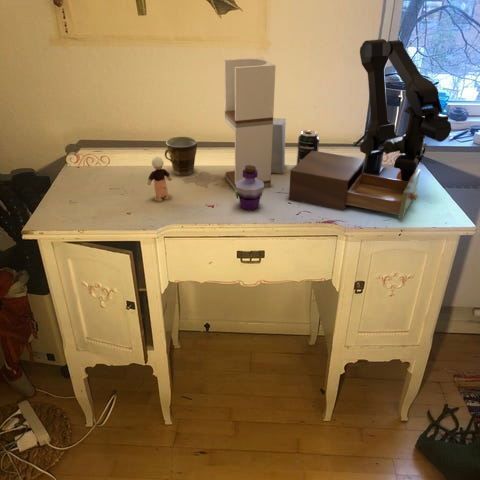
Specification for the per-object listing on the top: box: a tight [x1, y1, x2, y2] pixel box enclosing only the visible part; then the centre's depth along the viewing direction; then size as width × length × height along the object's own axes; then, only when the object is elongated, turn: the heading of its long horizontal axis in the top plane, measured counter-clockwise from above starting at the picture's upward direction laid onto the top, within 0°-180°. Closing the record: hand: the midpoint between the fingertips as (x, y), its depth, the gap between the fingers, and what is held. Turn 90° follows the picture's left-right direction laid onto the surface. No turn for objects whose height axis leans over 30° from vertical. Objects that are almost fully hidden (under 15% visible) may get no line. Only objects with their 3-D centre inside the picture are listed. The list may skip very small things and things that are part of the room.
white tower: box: [223, 57, 276, 192], centre depth 157 cm, size 11×11×35 cm
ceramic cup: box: [164, 136, 198, 176], centre depth 171 cm, size 13×10×10 cm
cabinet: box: [288, 150, 365, 211], centre depth 159 cm, size 19×17×9 cm
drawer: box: [345, 168, 421, 219], centre depth 153 cm, size 18×18×8 cm
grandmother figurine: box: [146, 156, 173, 202], centre depth 154 cm, size 8×4×13 cm, turn 134°
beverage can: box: [296, 129, 320, 165], centre depth 174 cm, size 7×7×12 cm
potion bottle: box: [235, 165, 265, 212], centre depth 150 cm, size 9×9×12 cm
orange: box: [396, 170, 415, 182], centre depth 163 cm, size 6×6×6 cm
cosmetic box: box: [271, 117, 287, 175], centre depth 172 cm, size 8×7×16 cm
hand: (405, 182), depth 164 cm, fingers closed on orange, 6 cm apart
